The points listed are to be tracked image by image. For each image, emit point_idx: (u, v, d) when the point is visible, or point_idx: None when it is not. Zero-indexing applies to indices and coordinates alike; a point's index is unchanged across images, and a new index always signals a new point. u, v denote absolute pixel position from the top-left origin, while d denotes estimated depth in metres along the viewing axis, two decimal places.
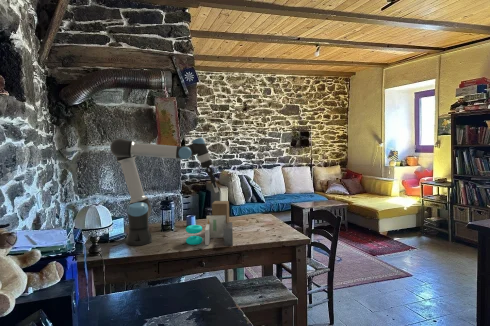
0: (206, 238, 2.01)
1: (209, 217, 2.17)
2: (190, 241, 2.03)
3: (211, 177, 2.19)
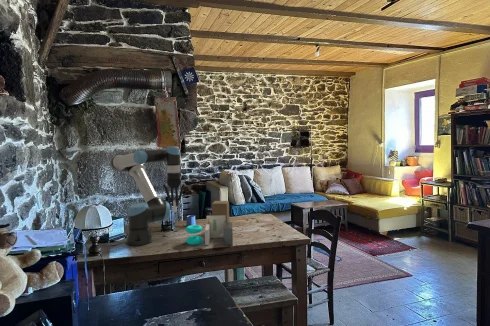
0: (206, 238, 2.01)
1: (209, 217, 2.17)
2: (190, 241, 2.03)
3: None
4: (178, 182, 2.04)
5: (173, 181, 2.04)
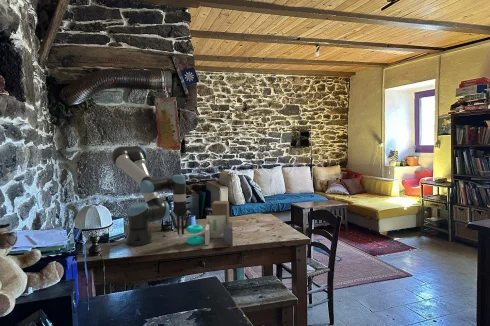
0: (206, 238, 2.01)
1: (209, 217, 2.17)
2: (191, 241, 2.03)
3: None
4: (184, 210, 2.05)
5: (179, 209, 2.05)
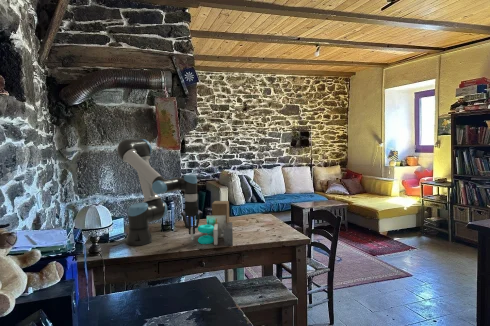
0: (214, 238, 2.01)
1: (209, 217, 2.17)
2: (202, 241, 2.04)
3: None
4: (195, 210, 2.05)
5: (190, 209, 2.05)
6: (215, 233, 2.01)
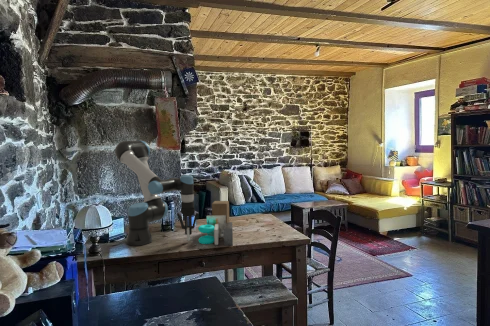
0: (215, 238, 2.01)
1: (209, 217, 2.17)
2: (203, 241, 2.04)
3: None
4: (192, 211, 2.06)
5: (187, 210, 2.05)
6: (216, 233, 2.01)
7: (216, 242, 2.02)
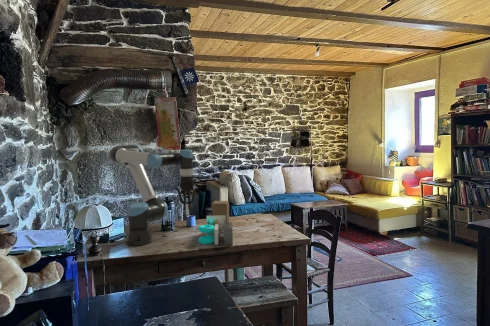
0: (215, 238, 2.01)
1: (209, 217, 2.17)
2: (203, 241, 2.04)
3: (179, 197, 2.06)
4: (191, 185, 2.04)
5: (186, 184, 2.04)
6: (216, 233, 2.01)
7: (216, 242, 2.02)
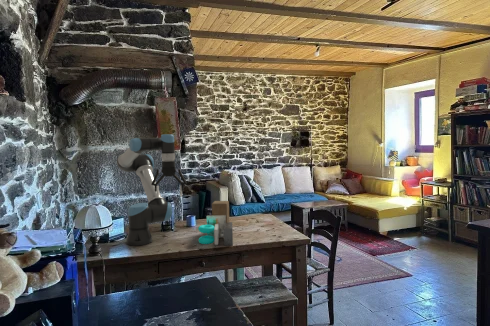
0: (215, 238, 2.01)
1: (209, 217, 2.17)
2: (203, 241, 2.04)
3: (153, 179, 2.02)
4: (173, 171, 2.01)
5: (168, 169, 2.01)
6: (216, 233, 2.01)
7: (216, 242, 2.02)
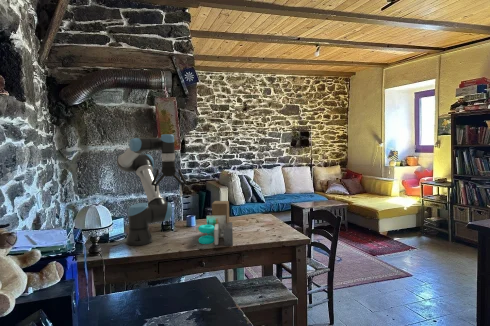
0: (215, 238, 2.01)
1: (209, 217, 2.17)
2: (203, 241, 2.04)
3: (153, 179, 2.02)
4: (173, 171, 2.01)
5: (168, 169, 2.01)
6: (216, 233, 2.01)
7: (216, 242, 2.02)
